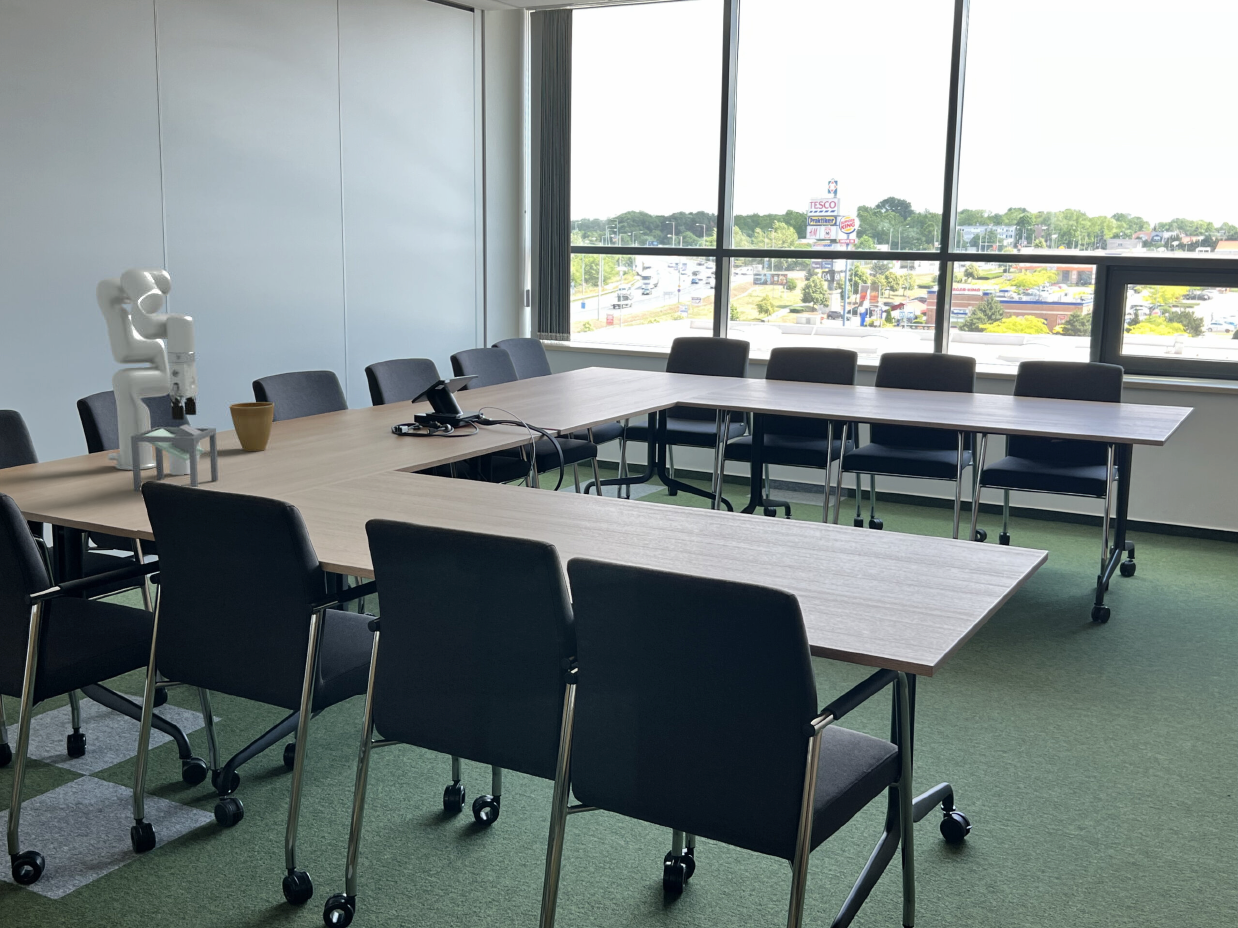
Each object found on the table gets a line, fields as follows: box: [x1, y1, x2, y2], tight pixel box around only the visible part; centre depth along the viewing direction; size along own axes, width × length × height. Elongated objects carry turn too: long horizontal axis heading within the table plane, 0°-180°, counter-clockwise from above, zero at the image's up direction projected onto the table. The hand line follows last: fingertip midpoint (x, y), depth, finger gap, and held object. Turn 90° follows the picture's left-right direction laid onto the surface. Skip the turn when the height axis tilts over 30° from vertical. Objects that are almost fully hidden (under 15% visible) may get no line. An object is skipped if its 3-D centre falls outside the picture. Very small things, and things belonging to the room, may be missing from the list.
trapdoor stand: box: [131, 426, 219, 492], centre depth 338 cm, size 18×18×16 cm
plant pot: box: [228, 401, 275, 452], centre depth 399 cm, size 15×15×16 cm
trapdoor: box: [143, 429, 205, 461], centre depth 337 cm, size 14×14×1 cm
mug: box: [168, 433, 202, 476], centre depth 357 cm, size 10×7×12 cm, turn 131°
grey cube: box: [171, 423, 201, 453], centre depth 337 cm, size 6×6×6 cm
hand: (184, 417), depth 336 cm, fingers open, 8 cm apart
